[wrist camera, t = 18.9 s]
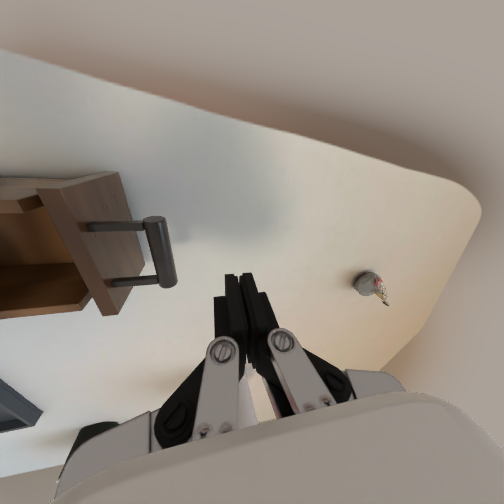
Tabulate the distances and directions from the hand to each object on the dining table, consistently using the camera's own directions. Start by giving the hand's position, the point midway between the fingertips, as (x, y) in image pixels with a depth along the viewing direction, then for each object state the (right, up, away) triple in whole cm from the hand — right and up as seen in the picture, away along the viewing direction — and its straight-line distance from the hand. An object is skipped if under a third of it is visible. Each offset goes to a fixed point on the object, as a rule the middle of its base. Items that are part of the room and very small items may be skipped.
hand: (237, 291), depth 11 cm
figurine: (+22, -2, +22) cm, 31 cm away
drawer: (-16, +5, +7) cm, 18 cm away
